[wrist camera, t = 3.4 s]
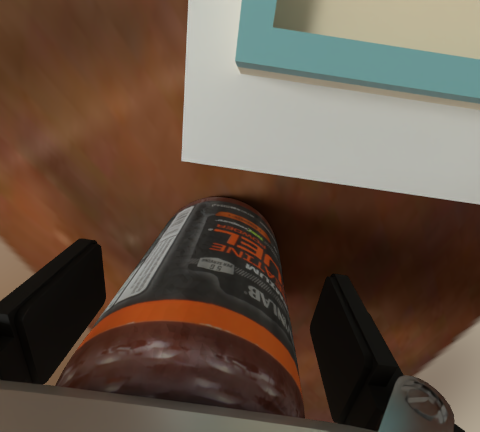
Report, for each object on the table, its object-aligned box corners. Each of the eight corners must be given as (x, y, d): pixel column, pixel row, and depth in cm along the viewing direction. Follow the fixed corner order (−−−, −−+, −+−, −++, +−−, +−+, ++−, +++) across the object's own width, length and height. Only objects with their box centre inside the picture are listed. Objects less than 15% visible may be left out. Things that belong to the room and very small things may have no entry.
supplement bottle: (300, 235, 13) (470, 700, 3) (234, 305, 15) (198, 719, 5) (203, 167, 12) (-84, 558, 2) (145, 253, 14) (-139, 663, 4)
